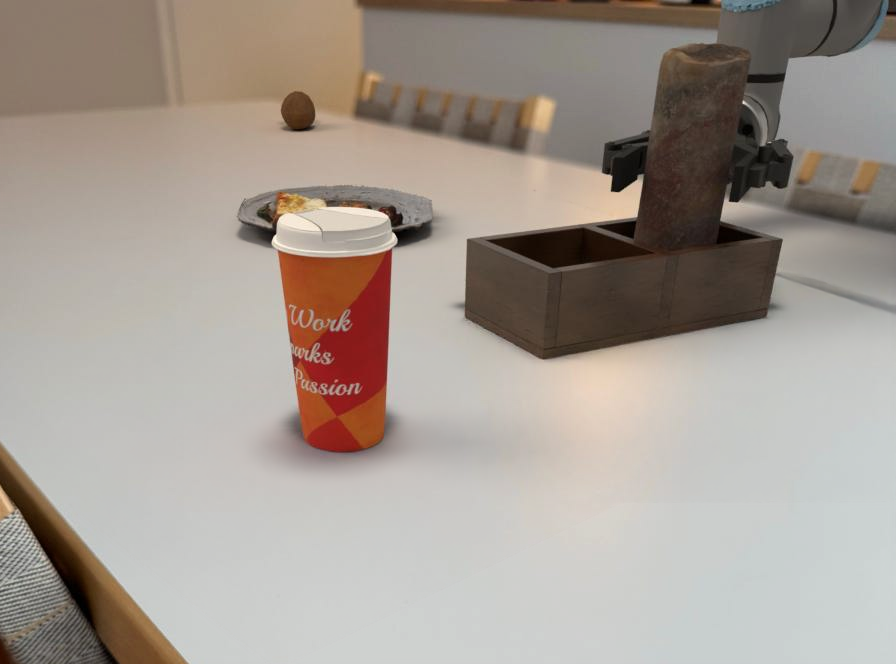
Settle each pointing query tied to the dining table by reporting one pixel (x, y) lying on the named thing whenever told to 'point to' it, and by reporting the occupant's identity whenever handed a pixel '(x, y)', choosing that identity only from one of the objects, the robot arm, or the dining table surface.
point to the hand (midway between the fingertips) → (675, 179)
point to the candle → (691, 145)
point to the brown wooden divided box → (613, 285)
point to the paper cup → (338, 321)
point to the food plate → (336, 205)
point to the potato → (298, 110)
